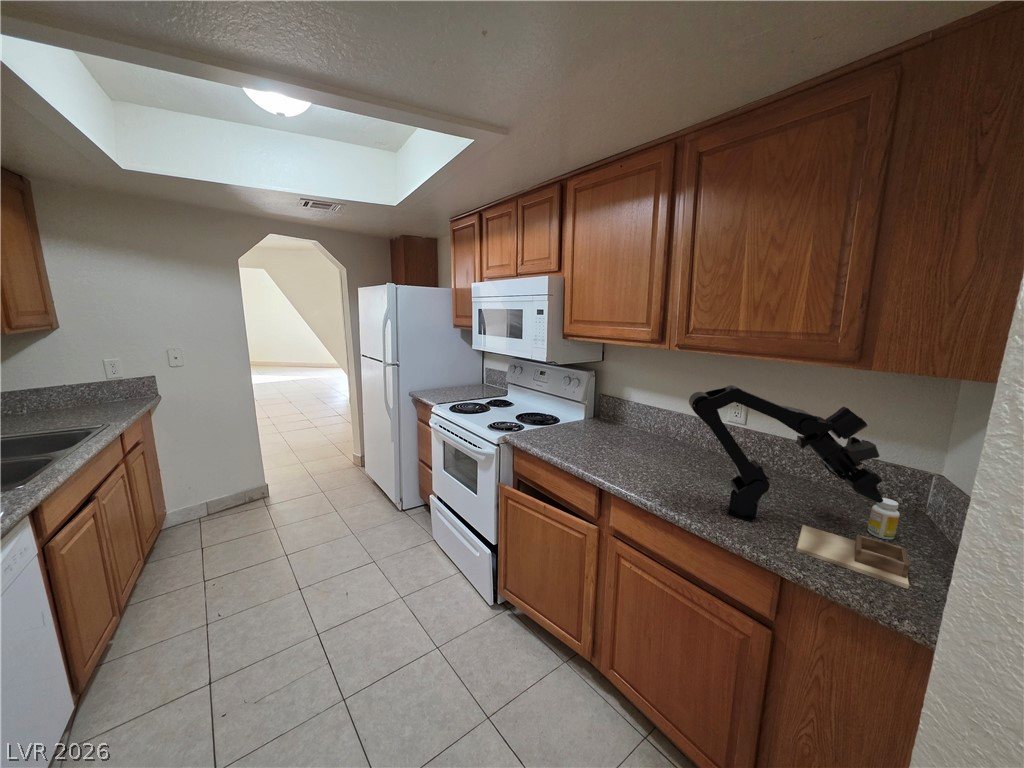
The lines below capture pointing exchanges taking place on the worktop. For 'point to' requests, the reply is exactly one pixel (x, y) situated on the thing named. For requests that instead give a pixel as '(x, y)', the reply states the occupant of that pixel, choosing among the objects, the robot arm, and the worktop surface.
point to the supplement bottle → (884, 519)
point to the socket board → (857, 554)
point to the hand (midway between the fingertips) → (870, 493)
